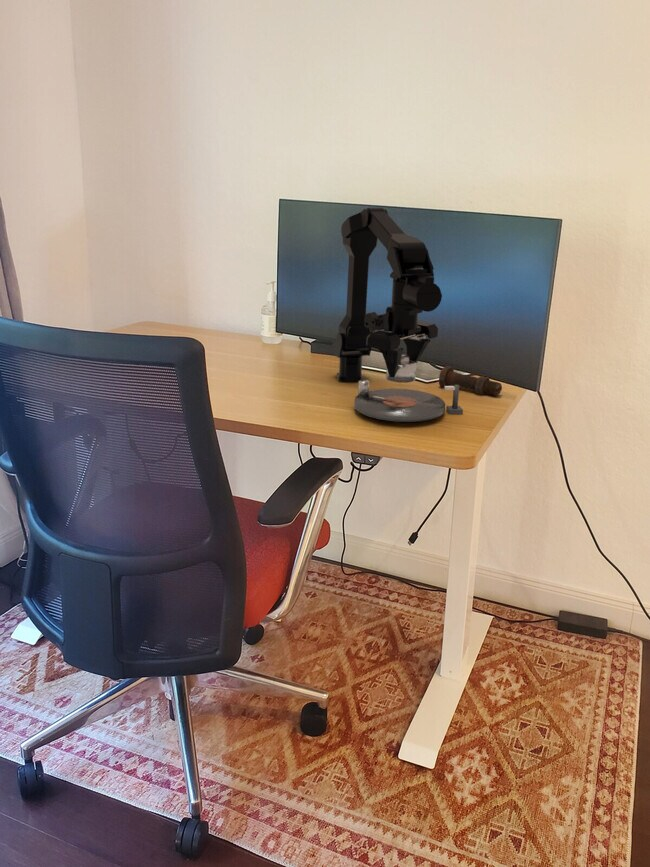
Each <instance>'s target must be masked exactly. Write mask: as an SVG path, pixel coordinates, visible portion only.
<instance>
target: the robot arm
mask: <svg viewBox="0 0 650 867" xmlns="http://www.w3.org/2000/svg"><path fill="white" fill-rule="evenodd" d="M397 224H398V223H396V222H395V221H394V220H393V219H392V217H391V216H390V215H389V214H388V210H387V209H386V208H384V207H366V208H364V209H362V211H360V212H358V213H355V214H353V215H350V216H349V217H347V218H346V220H344V222H342V224H341V229H340V232H341V237H342V245H343V246H344V249H345V250H346V252H347V254H348V268H347V269H348V270H347V272H348V273H347V293H346V309H345V310H346V312H345V316H344V318H343V319H342V321H341V322H340V323H339V325H338V333H337V334H336V336H335V338H334V340H333V342H332V344H331V351H332V355H334V356H336V357H337V358H338V359H339V362H338V364H339V366H338V367H339V368H338V372H336V377H337V381H338V382H359V380H365V378H364V377H365V376H364V375H363V374H362V373H363V372H362V371H363V356H367V357H370V355H371V353H372V348H374V349H376V350H379V352H380V353H381V354H382V356H383V360H384V362H385V366H386V369H387V370H388V373H389V376H390V377H395V374H396V372H397V369H398V365H399V362H400V359H401V356H402V354H403V353H404V348H403V347H400V345H401V341H403V342H404V345H405V346H406V355H408V356H409V360H413V361H415V362H416V364H417V363H418V362H419V360H420V359H421V358H420V357H422V355H423V352H424V351H425V350H426V348H427V347H428V345H429V344H430V343H431V342H432V340H431V339H435V338H438V333H439V332H438V331H439V328H438V326H437V324H435V323H431V322H426V321H422V320H419V314H422V313H423V312H429V313H430V312H433V311H435V309H437V308H438V307H439V306H440V304H441V302H442V298H443V294H442V291H441V289H440V286H439V285H437V284H436V283H435V277H434V276H435V274H434V266H433V263H432V260H431V258H430V255H429V250H428V247H427V245H426V244H425V243H424V241H422V240H421V239H419V238H417V237H414V236H411V235H408V234H406V233H405V232H404V231H403V230H402V229H401V227H400V226H399V225H397ZM378 241H379V242H380V243H381V244H382V245H383V247H385V249H386V251H387V252H386V259H387V261H388V264H389V265H390V267H391V270H392V272H391V273H390V274H389V278H390V279H392V290H391V295H392V296H391V305H389V306H387V307H386V308H385V313H383V314H379V315H378V314H377V312H375V311H373V312H368V313H367V302H368V301H367V298H368V286H369V285H368V282H369V265H370V257H371V255H372V253H373V252H374V250H375V248H377V246H378V245H377V244H378ZM426 336H427V338H426Z"/></svg>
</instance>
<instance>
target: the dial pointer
mask: <svg viewBox="0 0 650 867" xmlns="http://www.w3.org/2000/svg"><path fill="white" fill-rule="evenodd" d="M444 391H453V393H452V403H451V404H452V405H446V406H445V411H446V412H447V413H448V415H463V414H464V408H462V407H461V406H460V405H459V394H460V387H459V385H454V386H452V385H450V386H445V387H444Z"/></svg>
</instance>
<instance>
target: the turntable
mask: <svg viewBox="0 0 650 867" xmlns="http://www.w3.org/2000/svg"><path fill="white" fill-rule="evenodd" d="M353 401H354V403H353V407H354V409H355V410H356V411H357V412H358V413H360V414H362V415H364V416H367V417H369V418H374V419H377V420H382V421H388V422H402V423H410V422H411V423H413V422H414V423H415V422H423V421H431V420H433V419H436V418H439V417H441V416H442V415H444V413H445V411H446V402H445V401H444V400H443V399H442V398H440V397H439V396H437V395H435V394H433V393H429V392H426V391H421V390H417V389H410V388H409V389H408V388H378V389H372V390H370V380H368V379H364V380H359V381H358V394H357V395H356V396H355V397H354V400H353Z"/></svg>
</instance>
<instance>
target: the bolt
mask: <svg viewBox="0 0 650 867" xmlns="http://www.w3.org/2000/svg"><path fill="white" fill-rule="evenodd" d="M450 366H451V365H446V366H445V365H444V367H442V368H441V370H440V372H439V376H438V385H439V387H441V388H444V387H445V386H454V385H459V388H463V389H468V390H471V391H474V392H475V394H476V395H479V396H484V395H486V394H488V395H492V396H498V395H500V394H501V392H502V390H503V385H502V383H501V382H497V381H493V380H490V378H489V376H488V377H484V376H485V375H484V376H483V375H480V376H478V377H476V376H471V375H467V374H464V373H459V372H457V371H454V368H453V369H452V367H453V366H452V367H450Z"/></svg>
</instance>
